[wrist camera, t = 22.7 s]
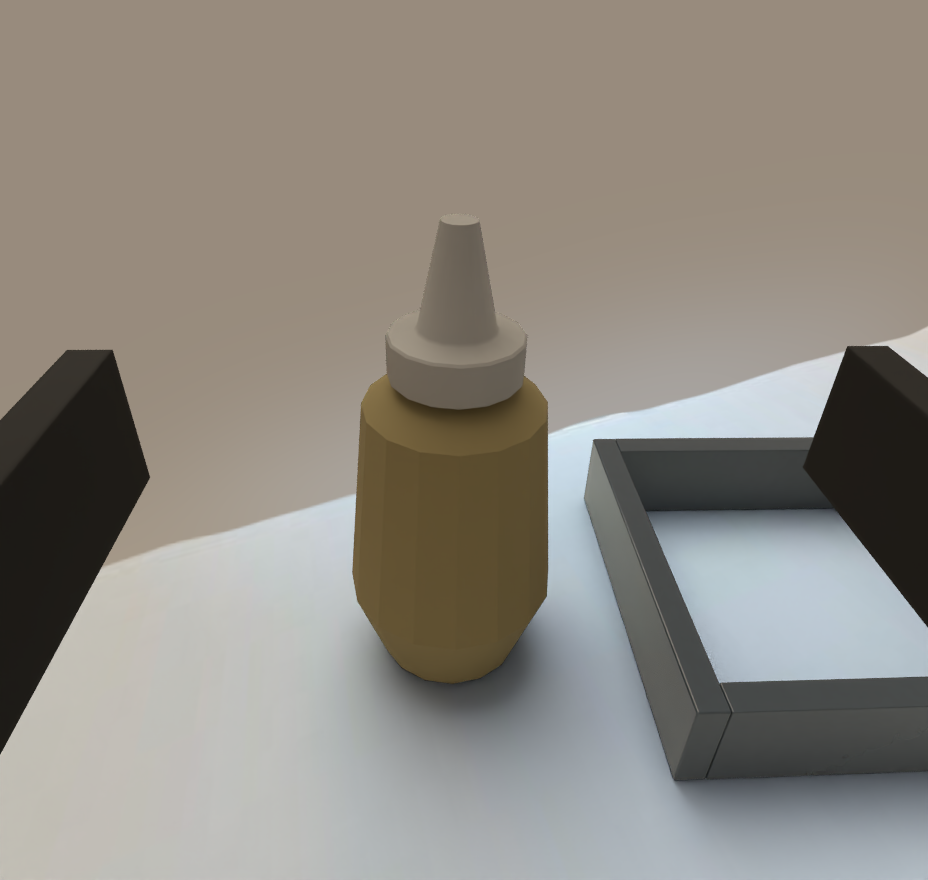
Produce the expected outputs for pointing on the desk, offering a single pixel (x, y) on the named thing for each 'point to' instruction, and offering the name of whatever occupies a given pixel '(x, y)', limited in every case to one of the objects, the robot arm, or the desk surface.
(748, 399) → the desk surface
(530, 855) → the desk surface
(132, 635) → the desk surface
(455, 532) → the squeeze bottle
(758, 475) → the grey open square frame
